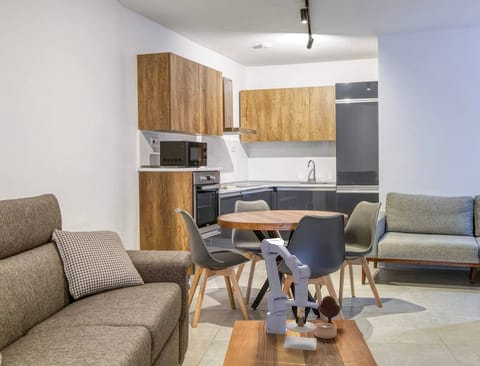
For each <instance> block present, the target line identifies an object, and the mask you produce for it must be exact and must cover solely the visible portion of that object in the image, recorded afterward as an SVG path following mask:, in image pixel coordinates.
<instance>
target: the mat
mask: <svg viewBox="0 0 480 366" xmlns="http://www.w3.org/2000/svg"><path fill="white" fill-rule="evenodd" d="M317 338H318V337H301V336H288V335H287V336H285V338H284V344H283V349H289V350H290V349H292V350H306V351H307V350H308V351H317Z"/></svg>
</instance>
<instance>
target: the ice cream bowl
mask: <svg viewBox="0 0 480 366" xmlns="http://www.w3.org/2000/svg"><path fill="white" fill-rule="evenodd" d="M341 309H342V306H341V305H339V304H338V303H337V301H336V299H335V298H334V297H333V296H332V295H326V296H324V297H323V298H322V300H321V302H320V304H319V305H318V310H319V312H320V313H321V314H322V316H324V317H326V318H327V321H326V322H325V323H331V324H334V325H336V323H333V322H332V319H333V318H335V317H337V316H339V314H340V312H341Z"/></svg>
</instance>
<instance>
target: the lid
mask: <svg viewBox="0 0 480 366" xmlns="http://www.w3.org/2000/svg"><path fill="white" fill-rule="evenodd" d="M304 320H305V315H304V316H303V315H298V324H296V320H293V321H289V322H286V328H287V331H288V330H289V331H291V332H295V333H312V332H315V329H316V326H315V323H312V322H310V321H306V324H304Z"/></svg>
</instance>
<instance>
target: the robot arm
mask: <svg viewBox="0 0 480 366" xmlns="http://www.w3.org/2000/svg"><path fill="white" fill-rule="evenodd" d="M260 250H261V254H262V255H261V256H262V257H263V259H264V265H265V269H266V273H267V274H266V275H267V279H268V284H269V289H270V294H269V295H268V296H267V298H266V299H267V300H266V301H267V306H266V307H267V311H268V312H266V319H265V323H266V324H265V328H266V329H265V330H266V331H265V333H267V334H279V335H287V332H288V329H287V328H286V324H287V314H288V312H289V310H290V309H291V311H292V314H293V316H294V319H295V320H294V321H296V324H298V316H299V315H298V308H304V324H306V322H307V320H308V316H309V314H310V313H311V308H312V309H318V310H319V305H318V304H319V303H318V302H312V301H309V299H308V298H309V291H308V290H309V279H310V278H311V276H312V270H311V267H310V266H309V265H308V264H304V263H302V262H301V261H300V259H299V258H298V257H297V256H296V255H293V254H291V253H290V251H289V250H288V249H287V248H286V246H285V241H284V240H283V238H281V237H278V238H268V239H266V238H264V239H263V240H261V243H260ZM278 256H280V257H281V258H283V260H285V261H284V262H285V263H284V264H285V266H287V267H288V268H289V270H290V271H291V273H292V277H293V282H294V300H291V301H290V299H289V298H288V294H287V293H286V292H284V291H282V285H281V280H280V275H279V270H278V265H277V261H276V259H277V257H278Z"/></svg>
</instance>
